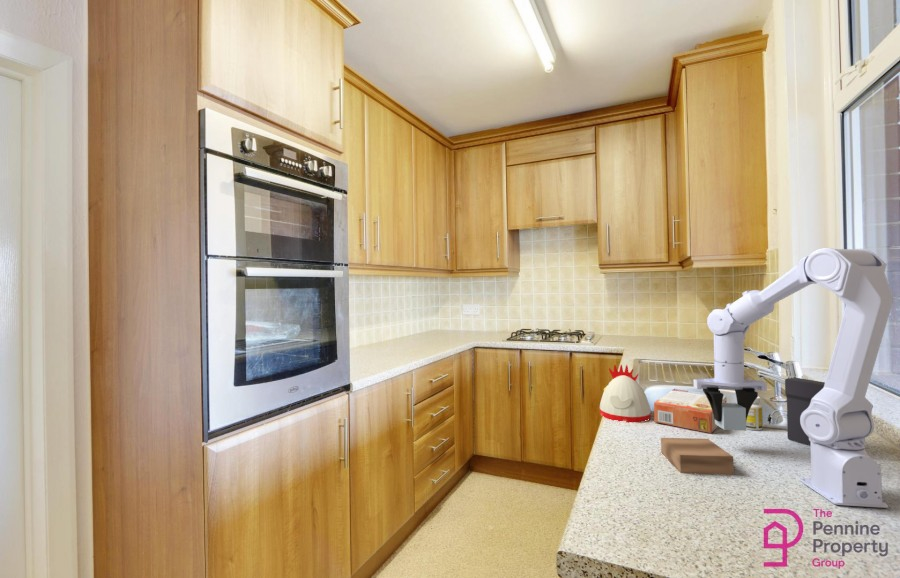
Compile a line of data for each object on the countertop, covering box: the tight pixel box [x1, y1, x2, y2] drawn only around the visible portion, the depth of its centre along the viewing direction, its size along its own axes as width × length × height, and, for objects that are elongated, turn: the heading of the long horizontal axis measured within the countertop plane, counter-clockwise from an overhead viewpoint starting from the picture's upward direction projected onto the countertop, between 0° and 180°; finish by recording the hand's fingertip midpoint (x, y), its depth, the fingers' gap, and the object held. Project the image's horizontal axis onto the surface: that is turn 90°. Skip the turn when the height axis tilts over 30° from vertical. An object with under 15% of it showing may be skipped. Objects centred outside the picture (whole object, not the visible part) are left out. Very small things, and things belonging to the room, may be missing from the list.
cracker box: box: [653, 388, 727, 434], centre depth 118 cm, size 14×6×21 cm
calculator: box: [784, 377, 825, 447], centre depth 97 cm, size 11×4×15 cm, turn 22°
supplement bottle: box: [746, 396, 764, 431], centre depth 110 cm, size 5×5×8 cm
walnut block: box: [660, 437, 734, 476], centre depth 88 cm, size 10×10×4 cm
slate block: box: [715, 402, 747, 432], centre depth 96 cm, size 4×4×5 cm
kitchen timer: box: [599, 364, 652, 423], centre depth 123 cm, size 14×14×15 cm
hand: (729, 420), depth 96 cm, fingers closed on slate block, 4 cm apart
